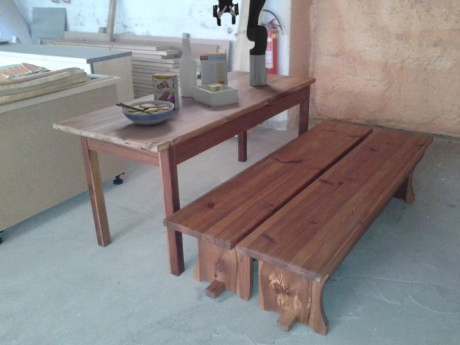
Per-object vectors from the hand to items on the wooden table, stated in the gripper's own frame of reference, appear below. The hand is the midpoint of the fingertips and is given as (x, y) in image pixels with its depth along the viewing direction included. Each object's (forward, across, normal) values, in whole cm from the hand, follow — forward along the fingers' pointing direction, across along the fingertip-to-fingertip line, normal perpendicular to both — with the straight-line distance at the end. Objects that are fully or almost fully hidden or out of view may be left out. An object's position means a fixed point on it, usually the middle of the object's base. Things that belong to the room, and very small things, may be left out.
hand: (226, 25), depth 233 cm
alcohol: (+35, +20, -8) cm, 41 cm away
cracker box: (+36, +4, -8) cm, 37 cm away
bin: (+35, +15, +10) cm, 40 cm away
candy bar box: (+35, +41, +8) cm, 55 cm away
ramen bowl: (+34, +58, +26) cm, 73 cm away
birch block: (+34, +15, +11) cm, 39 cm away
